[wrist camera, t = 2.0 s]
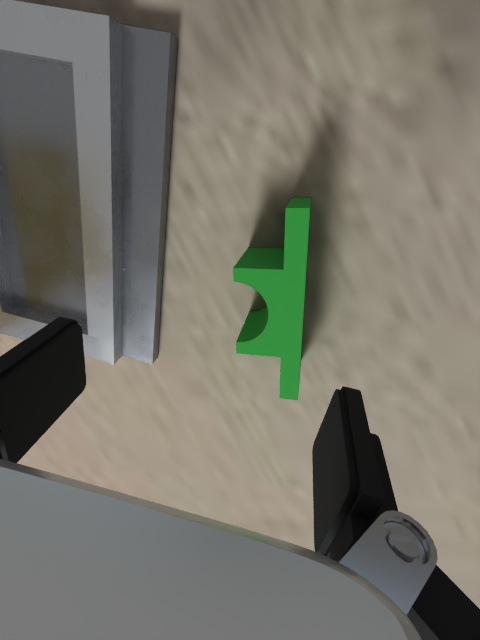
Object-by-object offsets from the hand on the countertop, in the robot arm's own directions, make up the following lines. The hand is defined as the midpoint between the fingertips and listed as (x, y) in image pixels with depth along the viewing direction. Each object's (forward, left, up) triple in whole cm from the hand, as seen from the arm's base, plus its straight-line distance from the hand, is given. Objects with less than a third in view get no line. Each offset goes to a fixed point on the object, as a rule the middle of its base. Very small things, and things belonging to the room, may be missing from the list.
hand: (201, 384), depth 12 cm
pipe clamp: (-2, 0, -12) cm, 12 cm away
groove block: (+14, -2, -11) cm, 18 cm away
